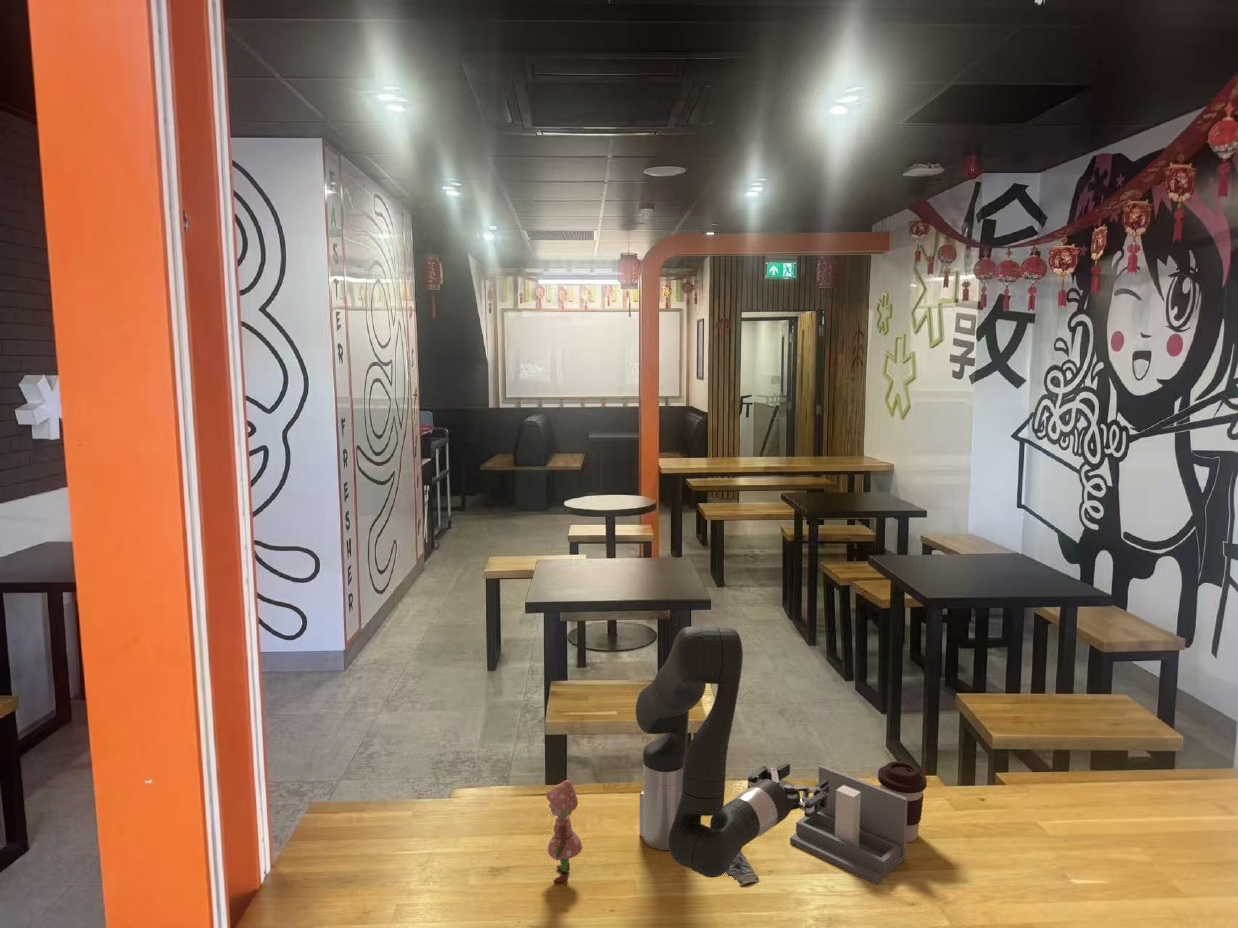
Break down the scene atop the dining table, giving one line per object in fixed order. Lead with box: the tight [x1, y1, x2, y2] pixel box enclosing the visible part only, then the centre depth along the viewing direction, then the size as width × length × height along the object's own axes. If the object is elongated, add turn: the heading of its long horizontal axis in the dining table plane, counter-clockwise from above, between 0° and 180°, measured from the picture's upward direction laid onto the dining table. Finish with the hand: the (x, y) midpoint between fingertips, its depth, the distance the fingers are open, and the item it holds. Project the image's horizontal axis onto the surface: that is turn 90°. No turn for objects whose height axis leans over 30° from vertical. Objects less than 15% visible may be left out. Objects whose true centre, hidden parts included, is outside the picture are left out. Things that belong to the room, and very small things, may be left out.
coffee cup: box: [877, 761, 928, 843], centre depth 170 cm, size 10×10×15 cm
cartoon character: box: [546, 779, 583, 884], centre depth 154 cm, size 10×7×20 cm
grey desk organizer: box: [789, 764, 908, 886], centre depth 163 cm, size 20×12×13 cm, turn 45°
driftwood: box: [724, 849, 760, 888], centre depth 162 cm, size 21×7×2 cm, turn 10°
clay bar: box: [835, 785, 861, 847], centre depth 163 cm, size 4×3×12 cm
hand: (807, 776), depth 151 cm, fingers open, 8 cm apart
